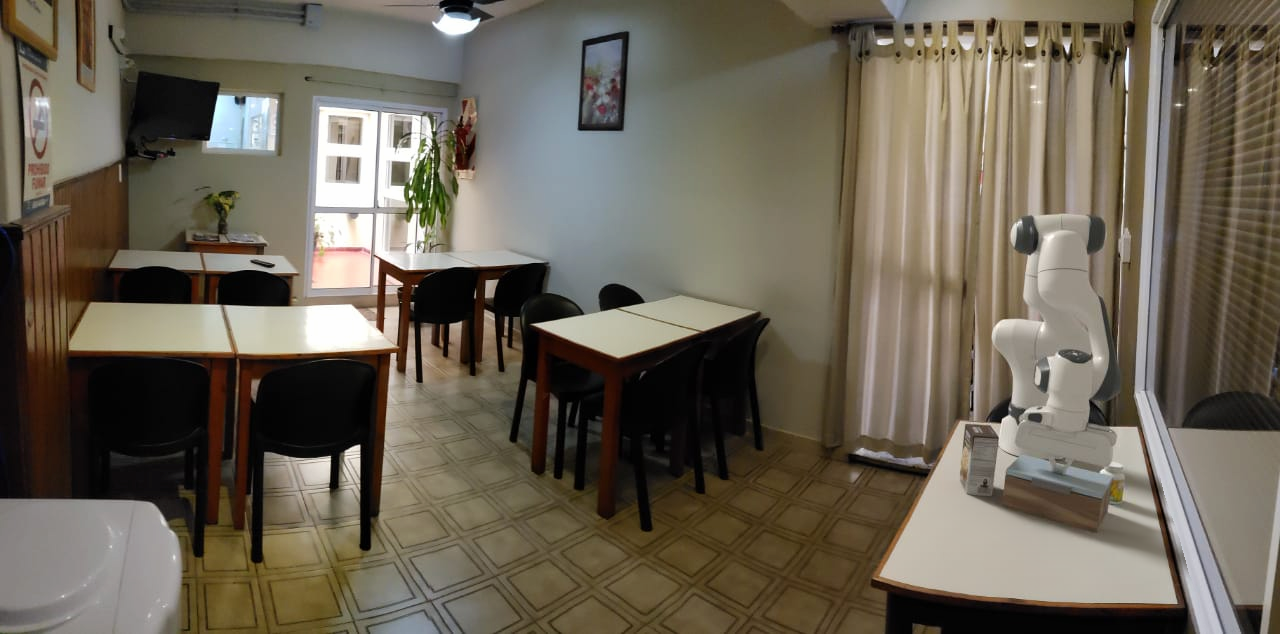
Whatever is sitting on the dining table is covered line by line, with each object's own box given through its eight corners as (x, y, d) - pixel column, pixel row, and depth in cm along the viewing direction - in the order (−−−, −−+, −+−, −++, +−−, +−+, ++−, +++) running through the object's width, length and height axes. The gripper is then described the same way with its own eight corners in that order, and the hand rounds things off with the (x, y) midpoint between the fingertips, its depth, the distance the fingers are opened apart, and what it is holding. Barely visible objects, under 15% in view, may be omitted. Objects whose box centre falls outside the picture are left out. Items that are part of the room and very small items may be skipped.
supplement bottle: (1126, 502, 177) (1131, 466, 175) (1112, 506, 175) (1118, 469, 173) (1104, 493, 182) (1109, 458, 180) (1091, 497, 180) (1096, 461, 178)
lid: (1020, 460, 183) (1021, 454, 183) (1111, 483, 170) (1112, 476, 170) (1003, 477, 172) (1004, 470, 172) (1100, 503, 159) (1101, 495, 159)
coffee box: (958, 479, 189) (964, 422, 186) (983, 482, 188) (990, 424, 185) (966, 494, 180) (972, 434, 177) (993, 497, 179) (1000, 437, 176)
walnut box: (1017, 487, 185) (1021, 458, 183) (1107, 511, 172) (1112, 481, 170) (1001, 505, 174) (1005, 474, 173) (1096, 532, 161) (1101, 500, 160)
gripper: (1120, 425, 164) (1112, 481, 166) (1023, 406, 177) (1016, 458, 180) (1115, 432, 159) (1107, 489, 162) (1016, 411, 173) (1009, 465, 175)
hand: (1058, 473), depth 171 cm, fingers closed, pressing on lid
